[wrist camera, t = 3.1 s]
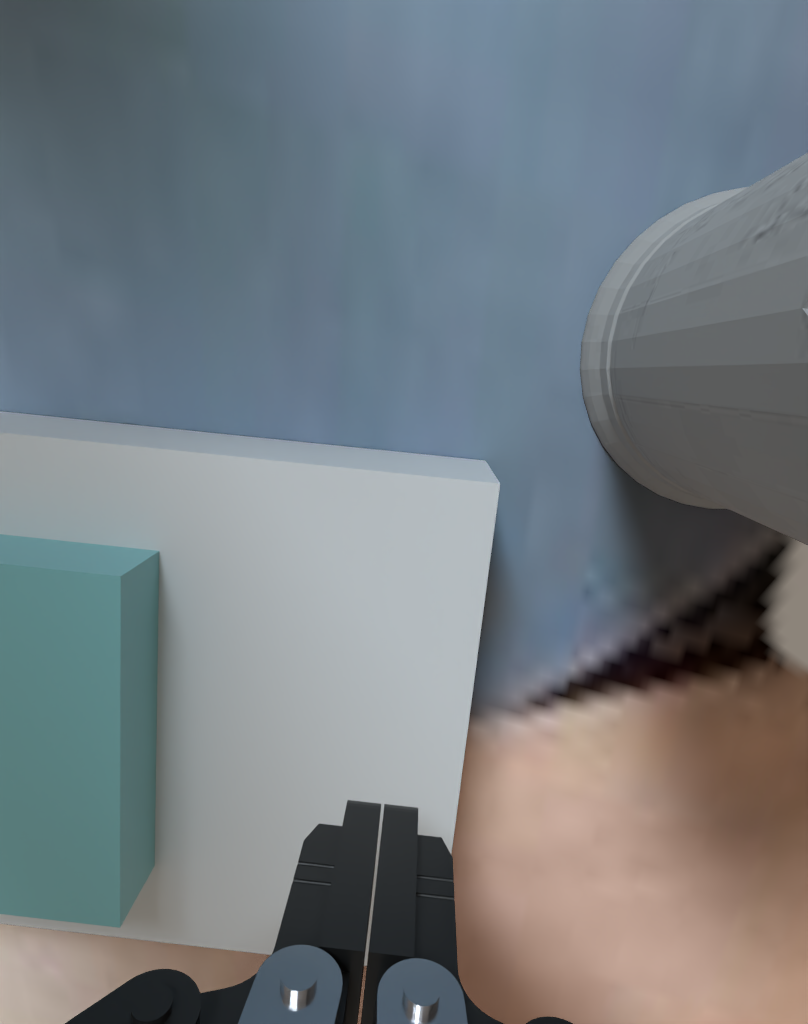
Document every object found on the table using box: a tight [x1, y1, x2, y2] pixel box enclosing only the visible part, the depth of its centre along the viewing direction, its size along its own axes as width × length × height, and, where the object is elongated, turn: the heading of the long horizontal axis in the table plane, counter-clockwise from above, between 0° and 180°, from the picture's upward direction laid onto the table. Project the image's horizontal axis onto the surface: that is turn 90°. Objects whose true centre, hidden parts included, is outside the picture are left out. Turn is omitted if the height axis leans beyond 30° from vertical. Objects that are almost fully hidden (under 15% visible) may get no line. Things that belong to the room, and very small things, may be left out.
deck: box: [0, 411, 500, 966], centre depth 19 cm, size 14×20×4 cm
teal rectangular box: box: [0, 534, 159, 928], centre depth 16 cm, size 9×6×2 cm, turn 174°
